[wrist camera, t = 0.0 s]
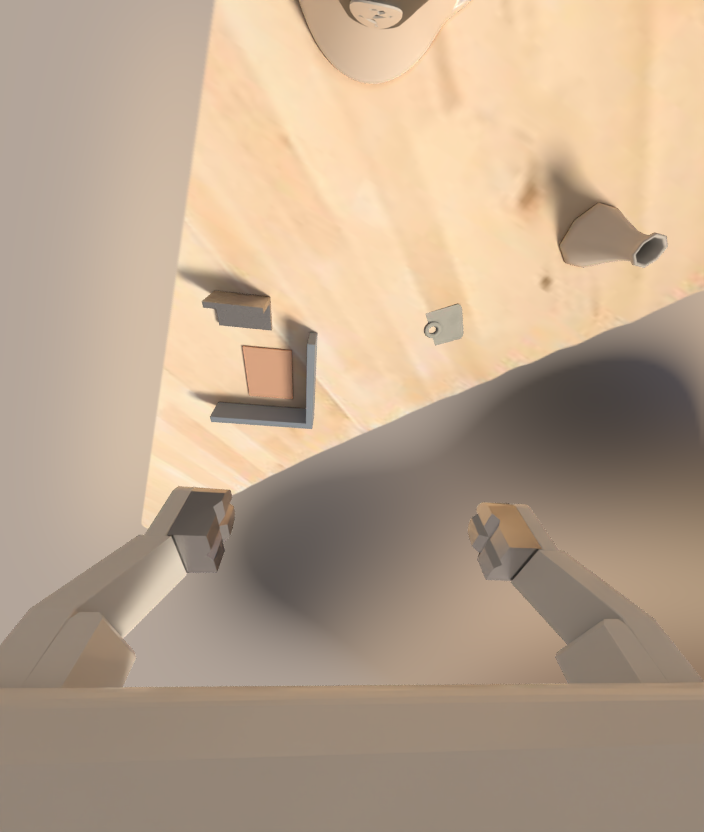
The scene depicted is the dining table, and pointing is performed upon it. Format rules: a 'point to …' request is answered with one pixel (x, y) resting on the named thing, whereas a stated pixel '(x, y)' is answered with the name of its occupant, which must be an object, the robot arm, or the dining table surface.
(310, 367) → the grey l-shaped piece
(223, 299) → the angle bracket
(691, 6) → the dining table surface
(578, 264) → the flask
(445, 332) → the mounting bracket
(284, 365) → the mat
